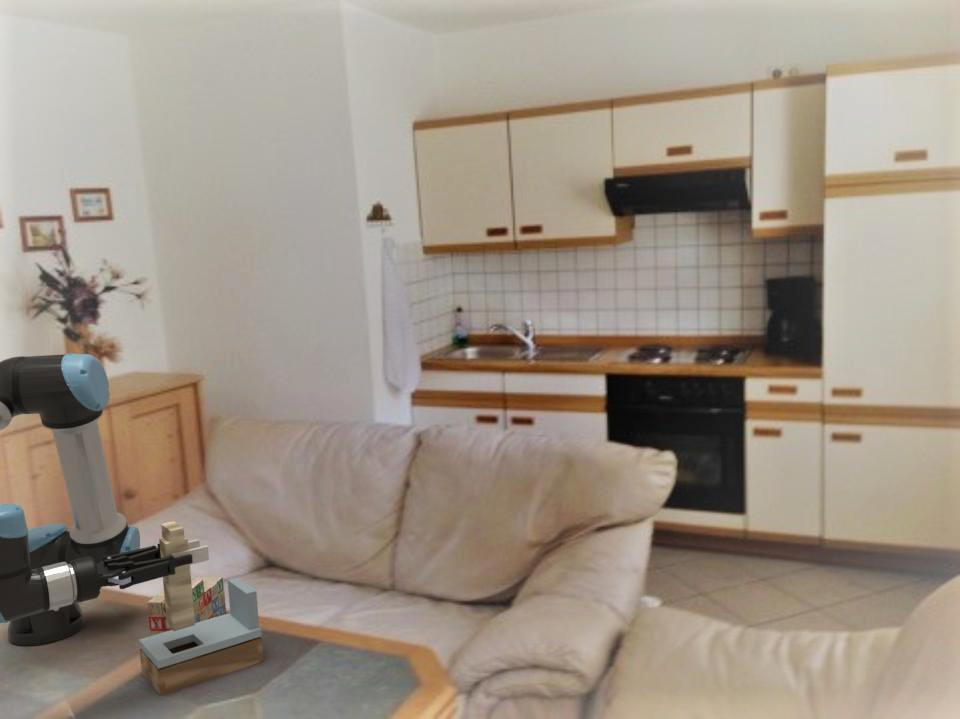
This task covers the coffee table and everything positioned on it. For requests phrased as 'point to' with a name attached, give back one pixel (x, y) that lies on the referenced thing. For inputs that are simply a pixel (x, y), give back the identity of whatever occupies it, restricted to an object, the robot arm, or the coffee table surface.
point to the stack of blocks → (205, 603)
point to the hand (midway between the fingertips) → (203, 549)
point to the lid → (209, 630)
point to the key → (177, 579)
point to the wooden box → (201, 665)
